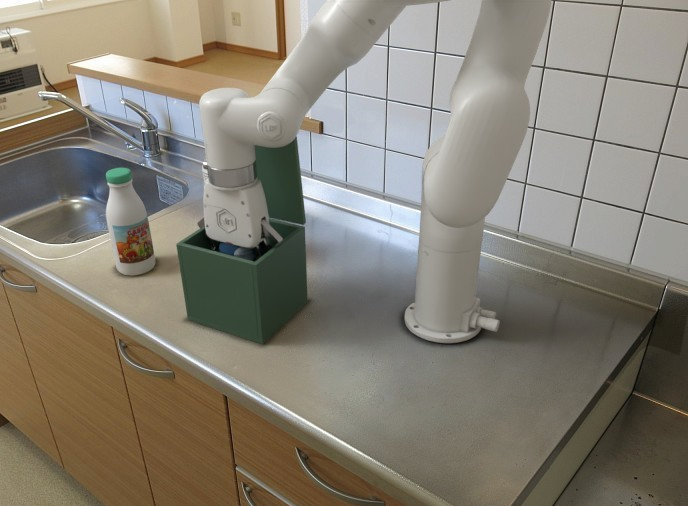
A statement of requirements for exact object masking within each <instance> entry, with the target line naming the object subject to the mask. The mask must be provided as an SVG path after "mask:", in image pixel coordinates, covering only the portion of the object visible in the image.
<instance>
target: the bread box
mask: <svg viewBox="0 0 688 506" xmlns="http://www.w3.org/2000/svg"><path fill="white" fill-rule="evenodd" d="M269 224H270V225H271V227H272V228H273V229H274V230H275V231H276V232H277V233H278V234H279V235H280V236H281V237H282V238H283V241H282V243H281V244H280V245H279V246H277V247H276V248H272V249H271V250H269V251H268V252H267V253H265V254H264V255H263V256H262V257H260V258H259V259H258V260H257V261H255V262H254V261H250V260H246V259H242V258H239V257H235V256H231V255H227V254H223V253H219V252H216V251H215V250H213V249H212V248H211V243H210V242H209V241H208V240H207V238H206V237H205V233H203V232H202V230H201V229H200V228H198V229H197V230H195V231H194V232H192V233H191V234H189V235H188V236H186V237H185V238H183V239H181V240H180V241H178V242H177V243H175V244H176V252H177V258H178V259H177V260H178V264H179V272H180V277H181V283H182V284H181V285H182V290H183V291H182V292H183V298H184V304H185V308H186V309H185V311H186V316H187V317H186V318H187V320H188V321H190V322H193V323H195V324H198V325H202V326H205V327H208V328H211V329H214V330H216V331H217V330H218V331H220V332H223V333H226V334H229V335H233V336H236V337H238V338H242V339H245V340H248V341H251V342H254V343H257V344H260V345H264V344H265V343H266V342H267V341H269V339H270V338H271V337H272V336H274V335H275V334H276V332H278V331H279V330H280V329H281V328H282V327H283V326H284V325H285V324H286V323H287V322H288V321H289V320H290V319H292V317H293V316H295V315H296V314H297V313H298V312H299V311H300V310H301V309H302V308H303V307H304V306H305V305H306V304H307V303H308V302H309V301H308V297H309V296H308V276H307V275H308V274H307V273H308V272H307V248H306V247H307V245H306V226H304V225H301V224H296V223H292V222H287V221H283V220H278V219H274V218H269ZM265 239H266V241H267V243H268V245H269V243H270V240H269V239H268V238H265Z"/></svg>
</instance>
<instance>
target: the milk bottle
mask: <svg viewBox="0 0 688 506" xmlns="http://www.w3.org/2000/svg"><path fill="white" fill-rule="evenodd" d="M105 179H106V182H107V186H108V187H109V193H108V199H107V202H106V208H105V219H106V225H107V230H108V235H109V240H110V245H111V249H112V254H113V259H114V264H115V268H116V270H117V272H119V273H120V274H121V275H124V276H139V275H142V274H145V273H149V272H150V271H151V270H153V268H154V267H155V266H156V256H155V250H154V246H153V239H152V233H151V228H150V227H151V226H150V222H149V218H148V213H147V210H146V206H145V204H144V202H143V201H142V199H141V197H140V196H139V194H138V193H137V191H136V190H135V188H134V186H133V181H134V180H133V173H132V170H131V169H130V168H128V167H115V168H112V169H109V170H107V171H106V172H105Z"/></svg>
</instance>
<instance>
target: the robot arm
mask: <svg viewBox="0 0 688 506" xmlns="http://www.w3.org/2000/svg"><path fill="white" fill-rule="evenodd" d="M448 1H450V0H325V1H324V3H323V4H322V5H321V7H320V8H319V9H318V11H317V12H316V13H315V15H314V16H313V17H312V19H311V21H310V23H309V24H308V27H307V29H306V31H305V32H304V34H303V36H302V37H301V38H300V40H299V41H298V43H297V44H296V46H295V47H294V48H292V50H291V52H290V53H289V55H288V56H287V57H286V59H285V60H284V61H283V62H282V63H281V65H280V66H279V67H278V69H277V70H276V72H275V73H274V74H273V76H272V77H271V78H270V80H268V82H267V83H266V84H265V86H264V87H263V88H262V89H261V91H260V92H259V94H257V95H255V96H252V97H250V95H249V94H248V92H247V91H246V90H244V89H241V88H238V87H219V88H215V89H211V90H208V91H206V92H204V93H203V94H202V95H201V97H200V99H199V107H198V108H199V116H200V122H201V123H200V124H201V130H202V138H203V145H204V152H205V158H206V161H204V160H203V163H202V165H203V168H204V169H207V170H208V179H206V181H205V186H204V185H203V187H204V188H203V201H202V202H203V204H202V205H203V217H202V218H201V219H199V221H198V222H197V227H198V229H201V230H202V232H203V233H205V237H206V238H207V240H208V241H209V242H210V243H211V248H212V249H213V250H215V251H216V252H219V253H220V250H219V245H220V242H224V243H226V242H230V243H232V244H234V245H237V246H240V247H245V248H251V249H252V251H253V253H254V255H255V257H256V259H255V260H254V262H255V261H257V260H258V259H259V258H260V257H262V256H263V255H264V254H265V253H267V252H268V251H269V250H271V249H272V248H276V247H277V246H279V245H280V244H281V243H282V241H283V238H282V237H281V236H280V235H279V234H278V233H277V232H276V231H275V230H274V229H273V228H272V227H271V225H270V224H269V219H270V217H269V216H268V209H267V203H266V199H265V194H264V191H263V187H262V184H261V181H260V180H258V178H257V167H256V156H255V145H257V146H263V147H270V148H278V147H283V146H286V145H288V144H289V143H291V142H292V141H293V140H294V139H295V137H296V136H297V137H298V134H299V132H300V129H301V127H302V124H303V122H304V119H305V117H306V116H307V114H308V112H309V111H310V110H311V109H312V108H313V106H314V105H315V104H316V103H317V101H318V100H319V99H320V98H321V96H322V95H323V94H324V93H325V91H326V90H327V89H328V88H329V87H330V85H331V84H332V83H333V82H334V81H335V80H336V79H337V78H338V77H339V76H340V75H341V74H342V73H343V72H344V71H345V70H347V69H348V68H350V67H352V66H355V65H357V64H358V63H359V62H360V61H361V60H363V58H364V57H366V56H367V54H368V53H369V52H370V51H371V49H372V48H373V47H374V46H375V45H376V44H377V42H379V40H380V38H381V37H382V36H383V35H384V34H385V32H386V31H387V30H388V29H389V27H390V26H391V25H392V24H393V23H394V22H395V20H396V19H397V18H398V17H399V15H400V14H401V13H402V12H403V11H404V10H405V8H406V7H407V6H408V7H409V6H419V5H429V4H437V3H443V2H448ZM552 1H553V0H481V2H480V3H481V4H480V9H479V13H478V17H477V20H476V23H475V26H474V29H473V32H472V35H471V39H470V41H469V45H468V48H467V50H466V53H465V56H464V58H463V60H462V62H461V63H462V64H461V67H460V69H459V71H458V74H457V75H456V78H455V81H454V84H453V85H452V88H451V92H450V95H449V110H450V111H449V112H450V120H449V123H448V126H447V129H446V131H445V134H443V135H442V136H440V137H438V138H437V139H435V141H434V142H433V143H432V144H431V145H430V146H429V148H427V151H426V153H425V155H424V158H423V161H422V167H421V191H420V192H421V194H420V195H421V196H420V219H419V233H418V234H419V235H418V248H417V263H416V281H415V296H414V302H412V303H410V304H409V305H407V308H406V309H405V310H404V319H403V320H404V325H405V326H406V328H407V329H408V330H409V331H410V332H411V333H412V334H414V335H415V336H416V337H419V338H421V339H423V340H426V341H428V342H433V343H439V344H457V343H461V342H462V343H463V342H466V341H468V340H471V339H472V338H474V337H476V336H477V335H479V333H480V332H481V330H482V329H484V330H487V331H491V332H495V333H497V332H498V330H499V327H500V324H501V323H500V321H501V320H499V319H497V318H496V317H497V312H496V311H492V310H487V309H483V307H481V298H480V297H476V295H477V286H478V280H479V270H480V261H481V253H482V247H483V245H482V244H483V238H484V230H485V221H486V217H487V216H489V214H490V213H491V211H492V210H493V208H494V207H495V205H496V204H497V202H498V200H499V198H500V196H501V194H502V192H503V189H504V187H505V185H506V183H507V180H508V178H509V175H510V173H511V171H512V169H513V167H514V164H515V162H516V159H517V157H518V155H519V152H520V150H521V148H522V145H523V143H524V141H525V138H526V136H527V132H528V128H529V124H530V120H531V119H530V117H531V105H530V104H531V103H530V100H529V96H528V94H527V92H526V89H525V86H526V82H527V78H528V76H529V74H530V70H531V68H532V65H533V63H534V60H535V58H536V55H537V52H538V49H539V47H540V43H541V41H542V37H543V35H544V32H545V30H546V26H547V23H548V19H549V16H550V12H551V7H552ZM265 238H268V239H269V240H270V243H269V245H268V243H267V241H266V239H265ZM258 244H260V246H261V248H262V251H261V250H260V248H259V246H258Z"/></svg>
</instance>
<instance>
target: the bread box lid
mask: <svg viewBox="0 0 688 506" xmlns="http://www.w3.org/2000/svg"><path fill="white" fill-rule="evenodd" d="M255 156H256V167H257V178H258V180H260V181H261V184H262V187H263V191H264V194H265V199H266V203H267V209H268V216H269V219H273V220H278V221H282V222H287V223H291V224H296V225H300V226H304V225H306V224H307V218H306V210H305V200H304V199H305V198H304V190H303V182H302V181H303V180H302V172H301V171H302V170H301V163H300V154H299V145H298V135H297V136H296V137H295V139H294V140H293V141H292V142H291V143H289V144H288V145H286V146H283V147H278V148H270V147H263V146H257V145H255Z"/></svg>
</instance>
